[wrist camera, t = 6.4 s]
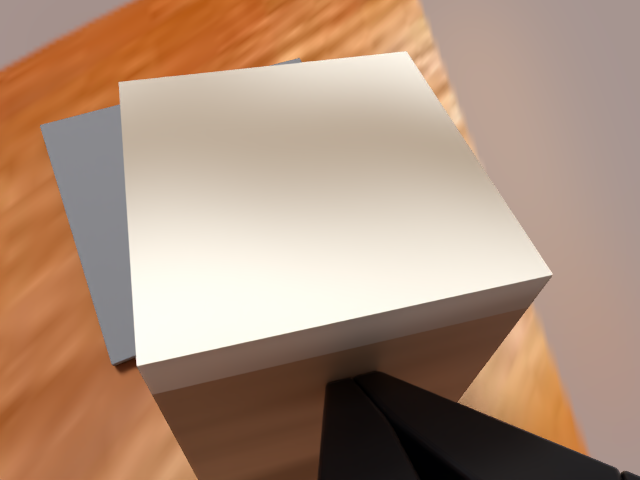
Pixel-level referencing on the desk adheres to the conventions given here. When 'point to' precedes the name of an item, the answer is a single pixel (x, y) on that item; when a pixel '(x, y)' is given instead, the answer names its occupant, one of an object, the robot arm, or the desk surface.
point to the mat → (99, 215)
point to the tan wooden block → (307, 251)
